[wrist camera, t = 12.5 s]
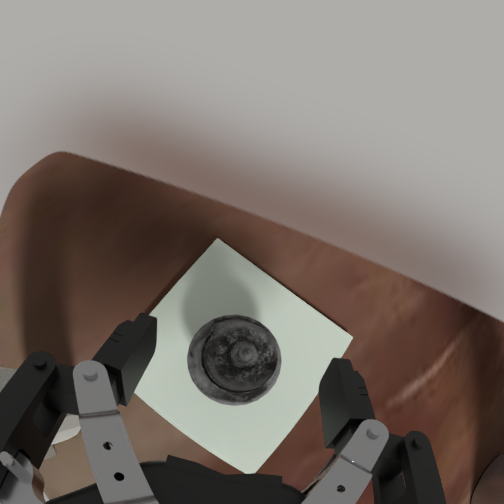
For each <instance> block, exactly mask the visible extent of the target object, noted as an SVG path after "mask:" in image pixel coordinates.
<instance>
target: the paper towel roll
mask: <svg viewBox="0 0 504 504" xmlns="http://www.w3.org/2000/svg"><path fill="white" fill-rule="evenodd" d="M17 370H18V369H11V368H4V367H0V392H1V390H2V389H3V388H4V386H5V385H6V384H7V382H8V381H9V380H10V379H11V377H12V376H13V375H14V373H15V372H16V371H17ZM80 429H81V427H80V423H79V416H78V415H73V414H67V415H66V417H65V419H64V421H63V423H62V425H61V426H60V428H59V430H58V432H57V434H56V436H55V438H54V440H53V442H52V444H55V443H58V442H61V441H64V440H67V439H69V438H71V437H73V436H75V435H77V434H78V432H79V430H80ZM52 444H51V446H50V448H49V450H48V452H47V454H46V456H45V458H44V460H47V459H49V458H52V457H54V456H56V453H55V450H54V448H53V446H52ZM44 460H43V461H44Z"/></svg>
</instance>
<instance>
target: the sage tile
mask: <svg viewBox="0 0 504 504" xmlns="http://www.w3.org/2000/svg"><path fill="white" fill-rule="evenodd" d="M149 315H150V316H153V317H156V318H157V344H156V349H155V353H154V355H153V357H152V359H151V361H150V363H149V365H148V366H147V368H146V370H145V372H144V374H143V376H142V378H141V380H140V382H139V383H138V385H137V387H136V389H135V391H134V393H135V394H137V395H138V396H139V397H140V398H141V399H142V400H143V401H144V402H146V403H147V404H148V405H149V406H150V407H151V408H153V409H154V410H155V411H156V412H157V413H159V414H160V415H161V416H162V417H163V418H165V419H166V420H167V421H168V422H170V423H171V424H172V425H174V426H175V427H176V428H177V429H179V430H180V431H181V432H183V433H184V434H185V435H187V436H188V437H190V438H191V439H192V440H194V441H195V442H197V443H198V444H199V445H201V446H202V447H204V448H205V449H207V450H208V451H210V452H211V453H213V454H214V455H216V456H217V457H219V458H221V459H222V460H224V461H225V462H227V463H229V464H230V465H232V466H234V467H235V468H237V469H239V470H240V471H242V472H244V473H246V474H251V473H255V472H256V471H257V470H258V469H259V468H260V467H261V465H262V464H263V463H264V462H265V461H266V460H267V459H268V457H269V456H270V455H271V454H272V453H273V452H274V450H275V449H276V448H277V447H278V446H279V444H280V443H281V442H282V441H283V439H284V438H285V437H286V436H287V434H288V433H289V432H290V431H291V429H292V428H293V427H294V425H295V424H296V423H297V421H298V420H299V419H300V417H301V416H302V415H303V413H304V412H305V411H306V409H307V408H308V407H309V405H310V404H311V402H312V401H313V400H314V398H315V397H316V395H317V394H318V392H319V384H320V381H321V379H322V377H323V375H324V373H325V371H326V369H327V367H328V366H329V364H330V362H331V360H332V359H333V358H334V357H335V358H341V357H342V355H343V354H344V352H345V350H346V349H347V347H348V345H349V344H350V342H351V340H352V339H353V337H352V336H351V335H349V334H348V333H347V332H345V331H344V330H343V329H341V328H340V327H338V326H337V325H336V324H334V323H333V322H331V321H330V320H329V319H327V318H326V317H325V316H323V315H322V314H320V313H319V312H318V311H316V310H315V309H314V308H312V307H311V306H309V305H308V304H307V303H305V302H304V301H303V300H301V299H300V298H298V297H297V296H296V295H294V294H293V293H292V292H290V291H289V290H288V289H286V288H285V287H283V286H282V285H281V284H279V283H278V282H277V281H275V280H274V279H273V278H271V277H270V276H268V275H267V274H266V273H264V272H263V271H262V270H260V269H259V268H258V267H256V266H255V265H253V264H252V263H251V262H249V261H248V260H247V259H245V258H244V257H243V256H241V255H240V254H239V253H237V252H236V251H235V250H233V249H232V248H230V247H229V246H228V245H226V244H225V243H224V242H222V241H221V240H220V239H218V238H217V239H216V240H215V241H214V242H213V243H212V245H211V246H210V247H209V248H208V249H207V250H206V251H205V252H204V253H203V254H202V256H201V257H200V258H199V259H198V260H197V261H196V262H195V263H194V264H193V265H192V267H191V268H190V269H189V270H188V271H187V272H186V273H185V274H184V276H183V277H182V278H181V279H180V280H179V281H178V282H177V283H176V285H175V286H174V287H173V288H172V289H171V290H170V291H169V292H168V294H167V295H166V296H165V297H164V298H163V299H162V300H161V302H160V303H159V304H158V305H157V306H156V307H155V309H154V310H153V311H152V312H151V313H150V314H149ZM224 315H242V316H247V317H250V318H252V319H254V320H257V321H259V322H260V323H262V324H263V325H264V326H265V327H267V328H268V329H269V330H270V332H271V333H272V334H273V336H274V337H275V338H276V340H277V343H278V345H279V348H280V352H281V360H282V363H281V369H280V374H279V376H278V379H277V381H276V383H275V385H274V386H273V387H272V388H271V390H270V391H269V392H268V393H267V394H266V395H264V396H263V397H262V398H260V399H259V400H257V401H254V402H252V403H249V404H246V405H237V406H231V405H225V404H220V403H218V402H216V401H213V400H211V399H209V398H208V397H207V396H205V395H204V394H203V393H202V392H200V391H199V389H198V388H197V387H196V385H195V384H194V382H193V381H192V379H191V376H190V373H189V371H188V363H187V355H188V349H189V345H190V343H191V341H192V339H193V337H194V335H195V334H196V333H197V332H198V330H199V329H200V328H201V327H202V326H203V325H205V324H206V323H208V322H209V321H211V320H212V319H215V318H218V317H221V316H224Z"/></svg>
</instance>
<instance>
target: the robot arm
mask: <svg viewBox="0 0 504 504" xmlns="http://www.w3.org/2000/svg"><path fill="white" fill-rule="evenodd" d="M156 344H157V318H156V317H153V316H150V315H147V314H144V313H140V314H139V315H138V317H137V318H136V319H135V321H134V322H132V321H129V320H127V321H125V322H123V323H121V324H119V325H118V326H117V328H116V329H115V330H114V332H113V333H112V334H111V335H110V337H109V339H107V340H106V342H105V343H104V344H103V346H102V347H101V348H100V350H99V351H98V352H97V353H96V355H95V356H94V357H93V359H92V360H87V361H83V362H80V363H79V364H77V365H76V366H75V367H73V366H66V365H61V364H56V362H55V359H54V357H53V356H52V355H51V354H49V353H47V352H43V351H38V352H35V353H32V354H31V355H29V356H28V357H27V359H26V360H25V361H24V362H23V364H22V365H21V366H20V367H19V368H18V370H17V371H16V372H15V373H14V375H13V376H12V377H11V379H10V380H9V381H8V382H7V384H6V385H5V386H4V388H3V389H2V390H1V392H0V503H1V504H355V503H356V502H357V500H358V499H359V497H360V496H361V494H362V492H363V491H364V489H365V488H366V486H367V484H368V483H369V481H370V479H371V478H372V483H373V492H374V502H375V504H446V500H445V496H444V492H443V487H442V483H441V479H440V476H439V472H438V468H437V464H436V461H435V457H434V454H433V451H432V447H431V444H430V441H429V439H428V438H427V436H426V435H425V434H423V433H421V432H419V431H411V432H409V433H408V434H407V435H406V436H405V437H401V436H397V435H393V434H390V433H388V430H387V428H386V426H385V425H384V424H383V423H381V422H379V421H377V420H376V419H375V415H374V412H373V408H372V405H371V401H370V398H369V396H368V391H367V389H366V385H365V382H364V379H363V378H362V376H361V375H360V374H359V373H358V371H353V368H352V364H351V361H350V360H349V359H342V358H335V357H334V358H333V359H332V360H331V362H330V364H329V366H328V367H327V369H326V371H325V373H324V375H323V377H322V379H321V381H320V384H319V399H320V407H321V415H322V423H323V431H324V440H325V448H334V450H335V453H334V455H333V456H332V457H331V458H330V459H329V461H328V462H327V463H326V464H325V466H324V467H323V468H322V469H321V470H320V472H319V473H318V474H317V475H316V476H315V478H314V479H313V480H312V481H311V482H310V483H309V484H308V485H307V486H306V487H305V488H304V489H303V490H302V491H301V492H300V491H299V490H297V489H295V488H294V487H292V486H290V485H287V484H285V483H282V476H275V475H265V474H257V473H251V474H235V475H225V474H221V473H219V472H216V471H214V470H212V469H210V468H207V467H205V466H203V465H201V464H199V463H196V462H193V461H189V460H185V459H181V458H178V457H174V456H171V455H168V457H167V460H166V461H161V460H160V461H147V462H142V463H139V462H138V460H137V458H136V455H135V453H134V450H133V448H132V445H131V443H130V440H129V438H128V435H127V432H126V429H125V427H124V424H123V421H122V418H121V415H120V412H119V411H118V409H117V406H118V404H121V405H124V406H126V407H127V405H128V403H129V401H130V399H131V397H132V395H133V393H134V391H135V389H136V387H137V385H138V383H139V382H140V380H141V378H142V376H143V374H144V372H145V370H146V368H147V366H148V365H149V363H150V361H151V359H152V357H153V355H154V353H155V349H156ZM67 414H73V415H78V416H79V423H80V427H81V432H82V436H83V440H84V444H85V448H86V451H87V455H88V458H89V462H90V465H91V468H92V471H93V475H94V478H95V480H96V483H94V484H92V485H89V486H87V487H84V488H82V489H79V490H77V491H74V492H71V493H69V494H66V495H63V496H60V497H57V498H54V499H51V500H49V501H47V502H45V500H44V496H43V489H44V479H43V476H42V474H41V473H40V471H39V468H40V466H41V464H42V462H43V460H44V458H45V456H46V454H47V452H48V450H49V448H50V446H51V444H52V442H53V440H54V438H55V436H56V434H57V432H58V430H59V428H60V426H61V425H62V423H63V421H64V419H65V417H66V415H67ZM403 475H404V479H403ZM404 480H405V485H406V489H405V485H404ZM471 504H504V454H502V455H500V456H498V457H497V458H496V459H495V460H494V461H493V462H492V463H491V464H490V465H489V467H488V468H487V469H486V471H485V472H484V474H483V475H482V477H481V479H480V481H479V482H478V484H477V486H476V489H475V491H474V493H473V496H472V500H471Z"/></svg>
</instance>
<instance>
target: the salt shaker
mask: <svg viewBox="0 0 504 504" xmlns="http://www.w3.org/2000/svg"><path fill="white" fill-rule="evenodd" d="M187 363H188V371H189V373H190V376H191V379H192V381H193V382H194V384H195V385H196V387H197V388H198V389H199V391H200V392H202V393H203V394H204V395H205V396H207V397H208V398H209V399H211V400H213V401H216V402H218V403H220V404H225V405H231V406H237V405H246V404H249V403H252V402H254V401H257V400H259V399H260V398H262V397H263V396H264V395H266V394H267V393H268V392H269V391H270V390H271V388H272V387H273V386H274V385H275V383H276V381H277V379H278V376H279V374H280V369H281V363H282V360H281V352H280V348H279V345H278V343H277V340H276V338H275V337H274V336H273V334H272V333H271V332H270V330H269V329H268V328H267V327H265V326H264V325H263V324H262V323H260V322H259V321H257V320H254V319H252V318H250V317H247V316H242V315H224V316H221V317H218V318H215V319H212V320H211V321H209V322H208V323H206V324H205V325H203V326H202V327H201V328H200V329H199V330H198V332H197V333H196V334H195V335H194V337H193V339H192V341H191V343H190V345H189V349H188V355H187Z"/></svg>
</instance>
